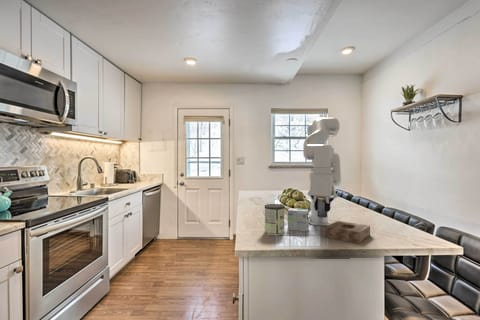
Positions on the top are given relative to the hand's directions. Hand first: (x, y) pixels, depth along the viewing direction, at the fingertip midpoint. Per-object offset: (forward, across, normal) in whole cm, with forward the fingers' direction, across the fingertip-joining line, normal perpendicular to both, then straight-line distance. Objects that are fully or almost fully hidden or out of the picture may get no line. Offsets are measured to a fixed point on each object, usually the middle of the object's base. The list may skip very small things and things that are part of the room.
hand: (322, 210), depth 123 cm
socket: (+15, +6, +15) cm, 22 cm away
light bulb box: (+15, -19, +11) cm, 26 cm away
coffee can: (+15, -25, -3) cm, 29 cm away
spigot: (+3, 0, 0) cm, 3 cm away
